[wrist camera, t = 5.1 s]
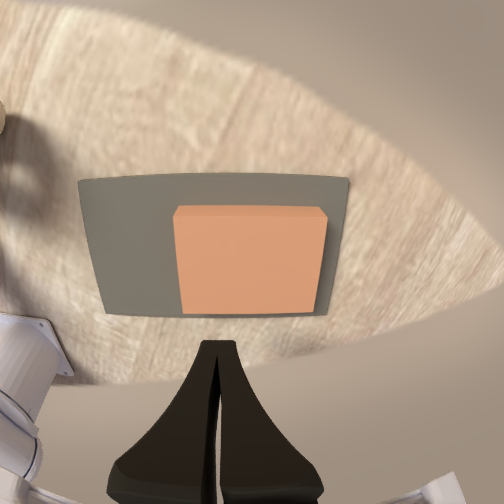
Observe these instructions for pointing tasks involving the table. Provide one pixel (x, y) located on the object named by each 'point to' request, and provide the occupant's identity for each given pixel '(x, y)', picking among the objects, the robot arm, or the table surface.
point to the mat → (163, 240)
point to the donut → (2, 117)
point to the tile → (248, 258)
